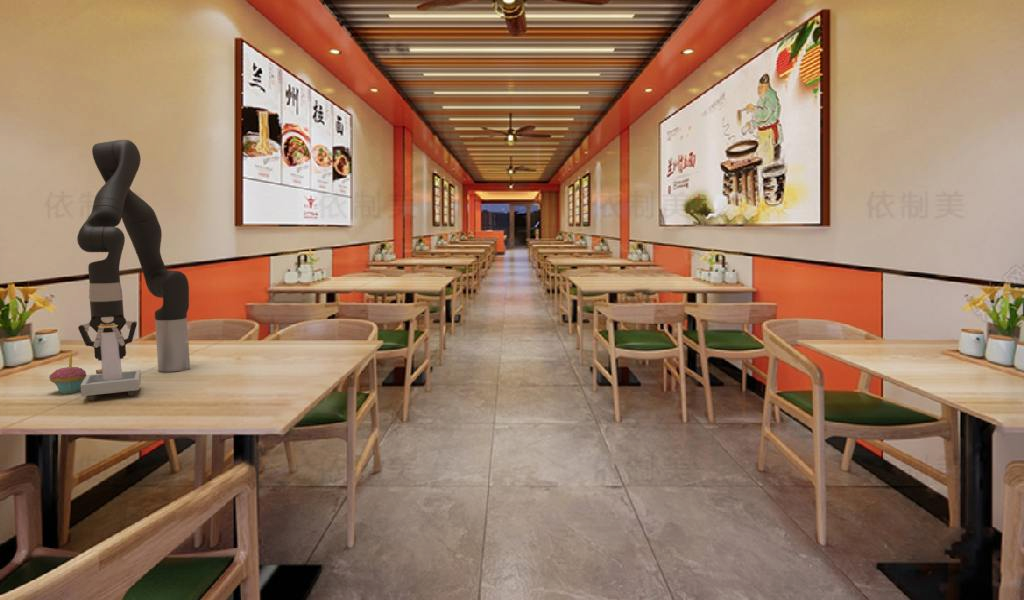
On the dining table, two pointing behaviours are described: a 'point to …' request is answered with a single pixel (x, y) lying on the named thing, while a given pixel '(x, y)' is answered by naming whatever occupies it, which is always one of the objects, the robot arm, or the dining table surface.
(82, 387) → the cart
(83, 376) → the cupcake
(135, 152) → the robot arm
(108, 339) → the perfume bottle
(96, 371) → the walnut block
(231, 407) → the dining table surface
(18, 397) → the dining table surface
